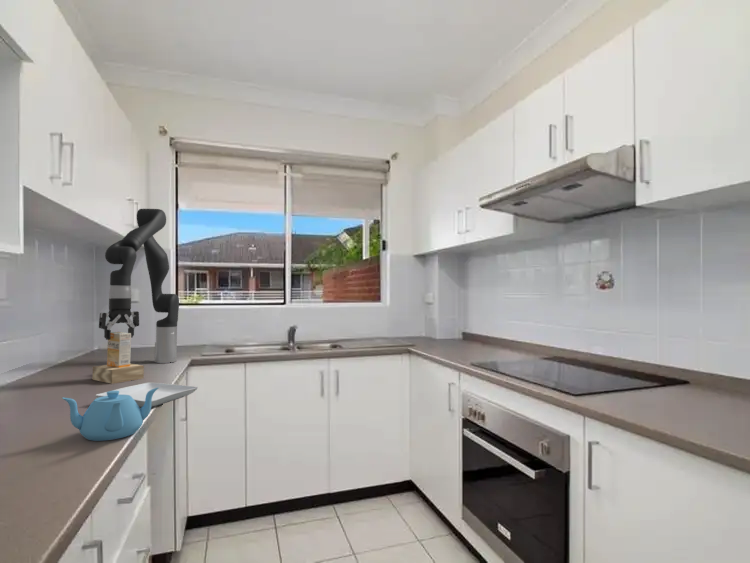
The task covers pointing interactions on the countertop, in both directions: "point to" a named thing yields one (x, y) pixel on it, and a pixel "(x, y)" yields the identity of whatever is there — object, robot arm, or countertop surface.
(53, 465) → the countertop surface
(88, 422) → the teapot
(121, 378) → the plate
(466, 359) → the countertop surface
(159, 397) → the salad plate
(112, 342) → the supplement box
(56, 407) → the countertop surface
